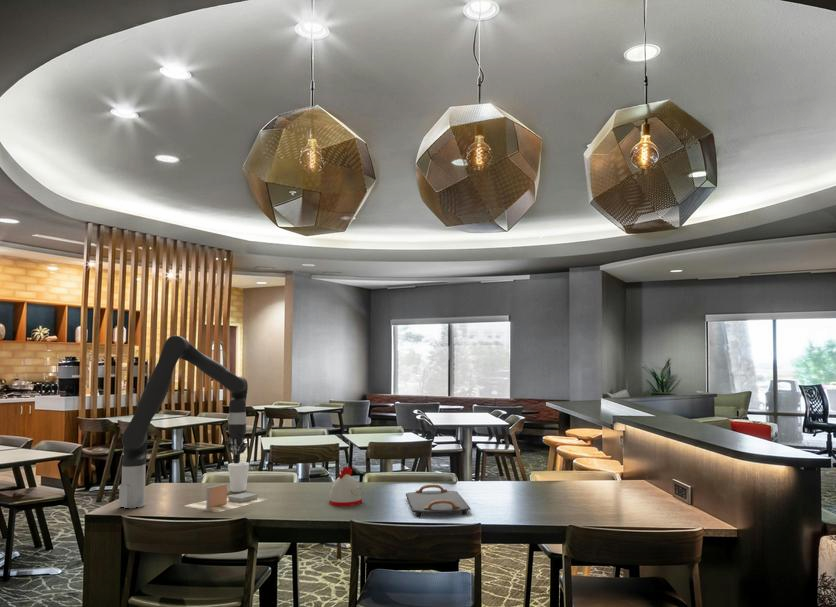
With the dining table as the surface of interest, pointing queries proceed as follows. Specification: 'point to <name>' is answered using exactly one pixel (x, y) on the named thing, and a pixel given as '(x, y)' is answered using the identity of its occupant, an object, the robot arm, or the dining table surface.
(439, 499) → the serving board
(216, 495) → the near tile
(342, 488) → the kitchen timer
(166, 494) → the dining table surface
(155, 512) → the dining table surface
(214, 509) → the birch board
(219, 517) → the dining table surface
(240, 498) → the far tile
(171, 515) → the dining table surface
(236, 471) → the foam cup
